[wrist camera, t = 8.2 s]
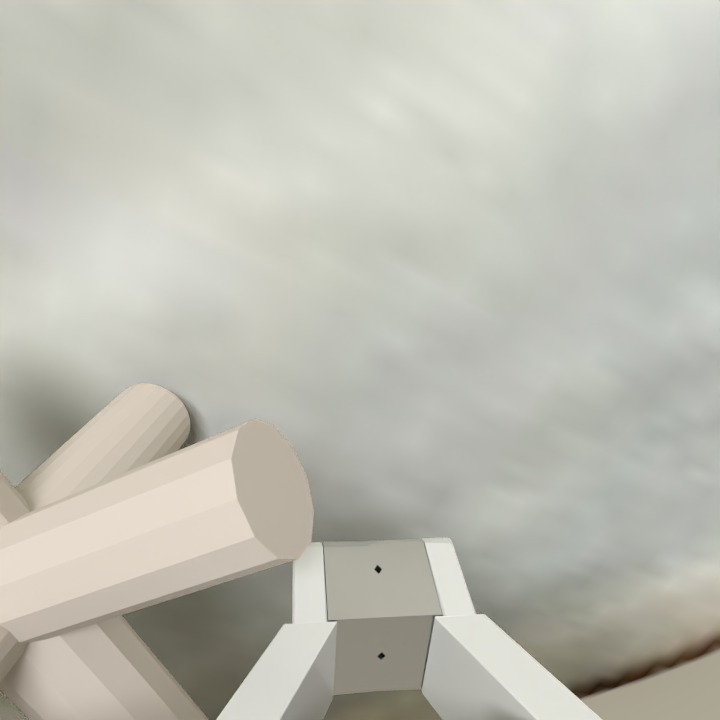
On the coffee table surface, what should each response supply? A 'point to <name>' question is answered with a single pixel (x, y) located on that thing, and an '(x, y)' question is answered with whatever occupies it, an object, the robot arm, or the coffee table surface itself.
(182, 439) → the pipe connector
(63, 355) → the coffee table surface
